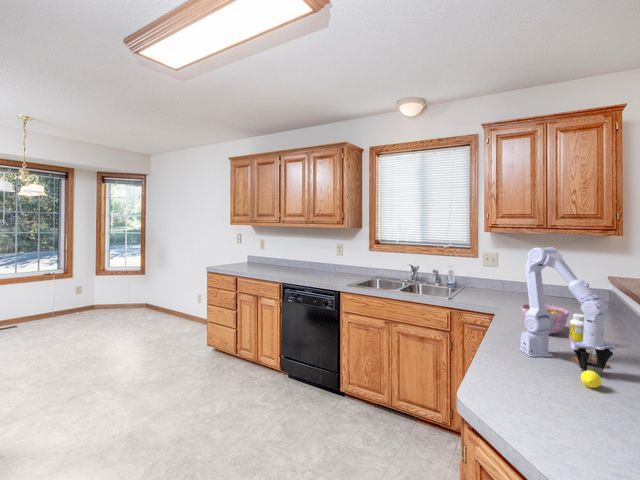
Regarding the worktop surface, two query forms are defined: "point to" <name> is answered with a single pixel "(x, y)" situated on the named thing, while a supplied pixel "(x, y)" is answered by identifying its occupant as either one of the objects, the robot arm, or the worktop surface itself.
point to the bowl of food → (552, 316)
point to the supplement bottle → (576, 328)
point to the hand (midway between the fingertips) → (591, 368)
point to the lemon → (591, 379)
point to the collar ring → (593, 368)
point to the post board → (573, 359)
